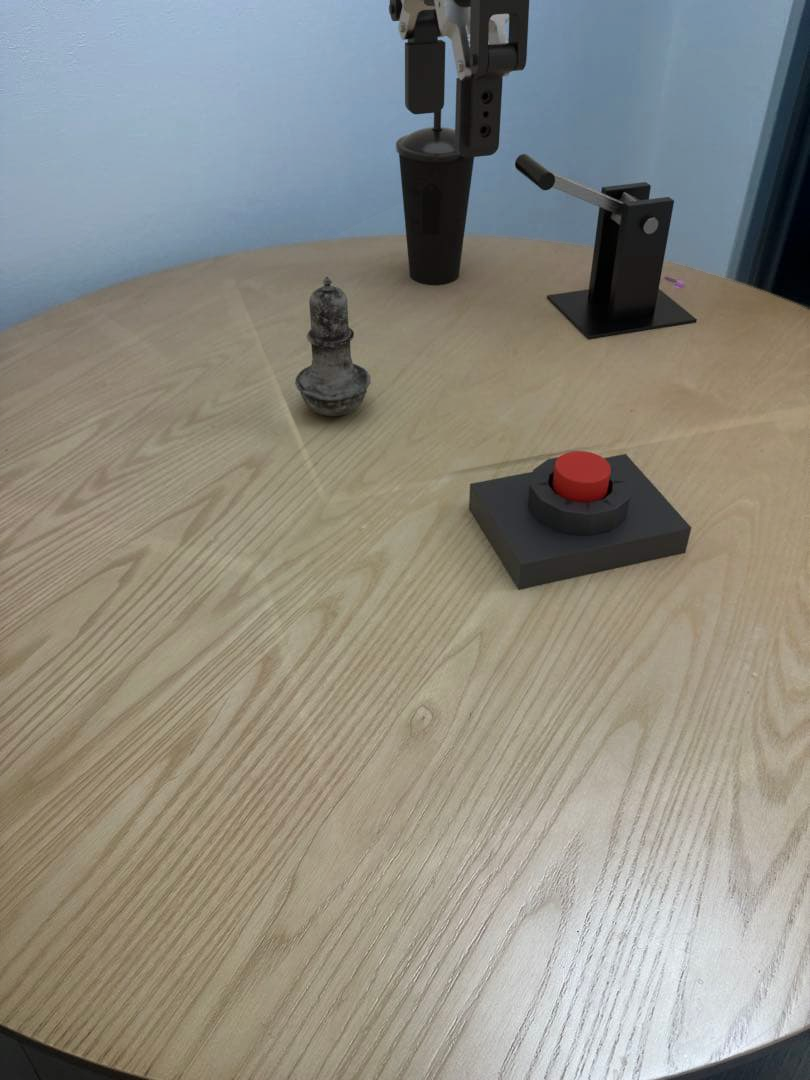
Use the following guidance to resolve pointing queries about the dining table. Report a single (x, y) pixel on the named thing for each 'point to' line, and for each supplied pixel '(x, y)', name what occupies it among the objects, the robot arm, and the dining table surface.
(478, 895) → the dining table surface
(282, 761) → the dining table surface
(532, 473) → the button box
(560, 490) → the button
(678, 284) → the earpods
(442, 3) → the robot arm
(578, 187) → the press lever
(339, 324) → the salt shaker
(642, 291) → the lever bracket
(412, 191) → the drinking cup
